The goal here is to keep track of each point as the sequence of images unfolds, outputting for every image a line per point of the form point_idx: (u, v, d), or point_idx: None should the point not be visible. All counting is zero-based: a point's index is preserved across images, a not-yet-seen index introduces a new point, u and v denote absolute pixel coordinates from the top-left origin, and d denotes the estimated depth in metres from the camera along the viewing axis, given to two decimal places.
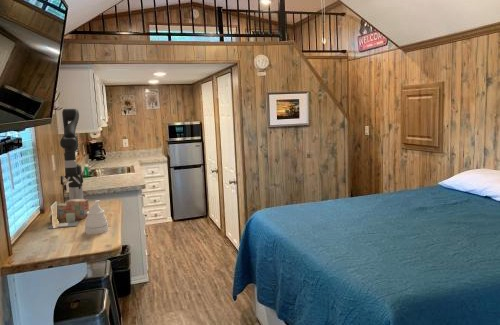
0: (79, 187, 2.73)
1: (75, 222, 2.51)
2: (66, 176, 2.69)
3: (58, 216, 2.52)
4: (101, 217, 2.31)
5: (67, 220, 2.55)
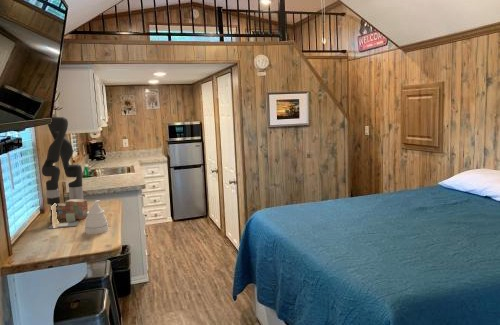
0: None
1: (75, 222, 2.51)
2: None
3: (58, 216, 2.52)
4: (101, 217, 2.31)
5: (67, 220, 2.55)
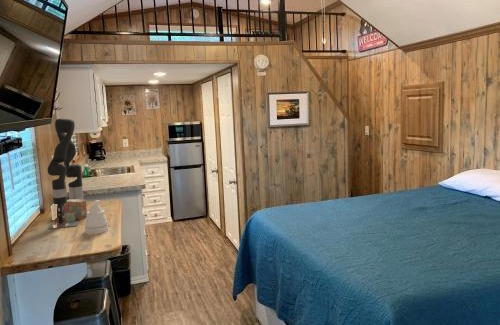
0: None
1: (75, 222, 2.51)
2: (61, 206, 2.43)
3: (65, 217, 2.45)
4: (101, 217, 2.31)
5: (67, 220, 2.55)
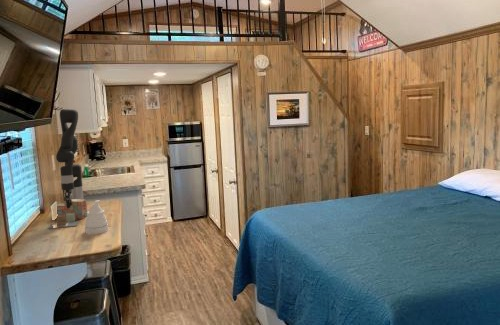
0: (71, 203, 2.60)
1: (75, 222, 2.51)
2: (69, 192, 2.52)
3: (65, 217, 2.45)
4: (101, 217, 2.31)
5: (67, 220, 2.55)
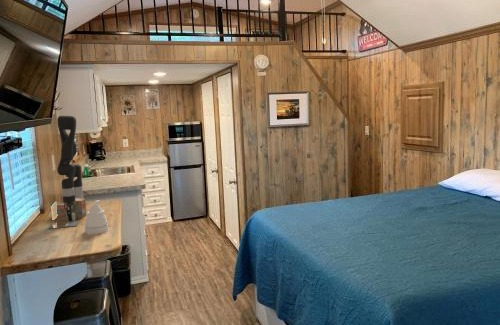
0: None
1: (75, 222, 2.51)
2: (70, 205, 2.53)
3: (65, 217, 2.45)
4: (101, 217, 2.31)
5: (67, 220, 2.55)
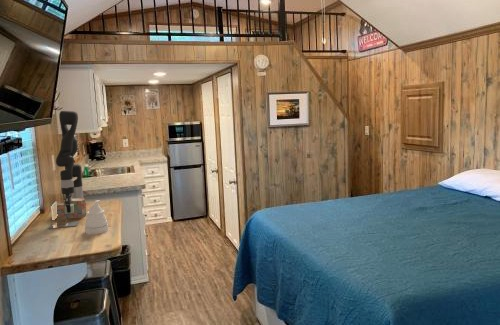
0: None
1: (75, 222, 2.51)
2: (69, 196, 2.53)
3: (65, 217, 2.45)
4: (101, 217, 2.31)
5: (66, 211, 2.54)
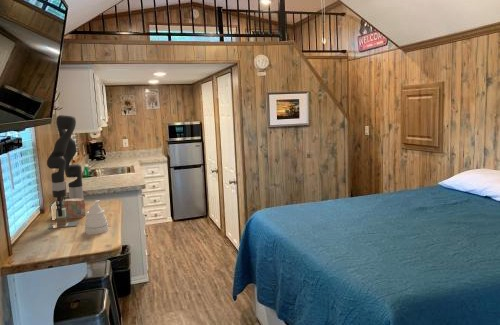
0: None
1: (75, 222, 2.51)
2: (60, 199, 2.42)
3: (65, 217, 2.45)
4: (101, 217, 2.31)
5: (57, 216, 2.43)
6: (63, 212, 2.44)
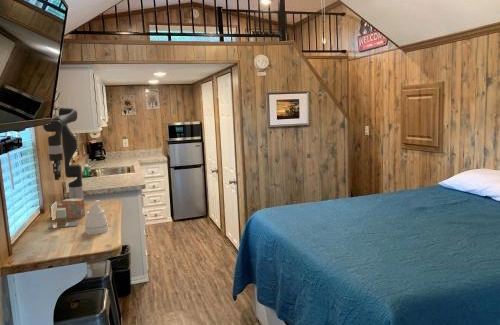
0: (60, 175, 2.47)
1: (75, 222, 2.51)
2: (57, 163, 2.39)
3: (65, 217, 2.45)
4: (101, 217, 2.31)
5: (57, 216, 2.43)
6: (63, 212, 2.44)
